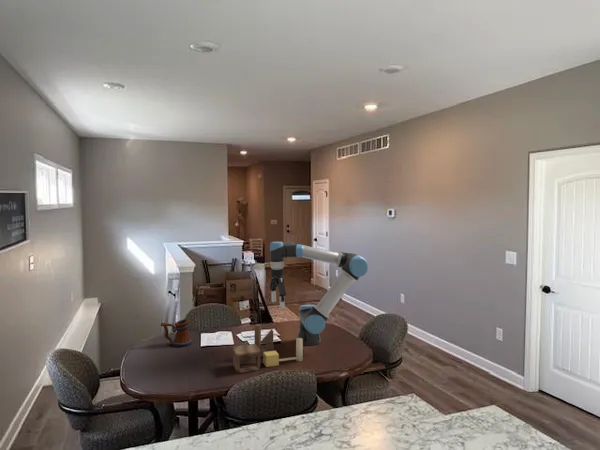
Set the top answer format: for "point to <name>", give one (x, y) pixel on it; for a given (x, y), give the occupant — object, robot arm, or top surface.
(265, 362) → the block
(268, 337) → the wooden block
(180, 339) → the mug
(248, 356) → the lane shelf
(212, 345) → the top surface
